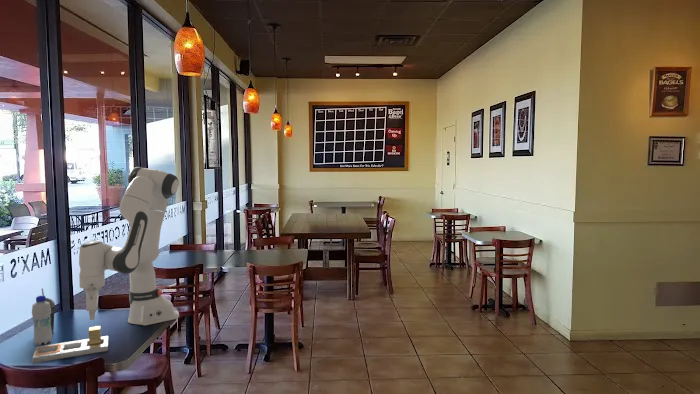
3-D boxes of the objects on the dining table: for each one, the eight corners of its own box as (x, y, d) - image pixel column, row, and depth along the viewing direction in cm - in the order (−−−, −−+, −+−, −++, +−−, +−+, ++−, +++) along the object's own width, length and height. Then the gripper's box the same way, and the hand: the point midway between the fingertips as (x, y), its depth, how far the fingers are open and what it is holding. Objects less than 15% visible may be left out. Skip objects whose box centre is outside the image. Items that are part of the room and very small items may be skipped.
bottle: (39, 340, 199) (36, 293, 197) (56, 339, 199) (53, 293, 198) (30, 346, 192) (27, 298, 190) (47, 346, 193) (44, 298, 191)
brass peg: (101, 344, 194) (100, 325, 193) (101, 348, 190) (100, 328, 189) (90, 346, 192) (89, 327, 191) (89, 350, 188) (88, 330, 188)
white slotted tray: (108, 340, 198) (108, 335, 198) (107, 350, 188) (107, 345, 187) (37, 351, 187) (37, 346, 187) (32, 363, 177) (32, 357, 176)
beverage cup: (47, 337, 202) (44, 291, 200) (33, 336, 204) (30, 290, 202) (61, 331, 209) (58, 286, 208) (47, 329, 211) (44, 285, 209)
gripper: (100, 287, 181) (101, 322, 181) (101, 275, 199) (102, 308, 200) (81, 288, 178) (82, 324, 179) (84, 277, 196) (84, 309, 197)
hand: (92, 315), depth 189 cm, fingers open, 8 cm apart
